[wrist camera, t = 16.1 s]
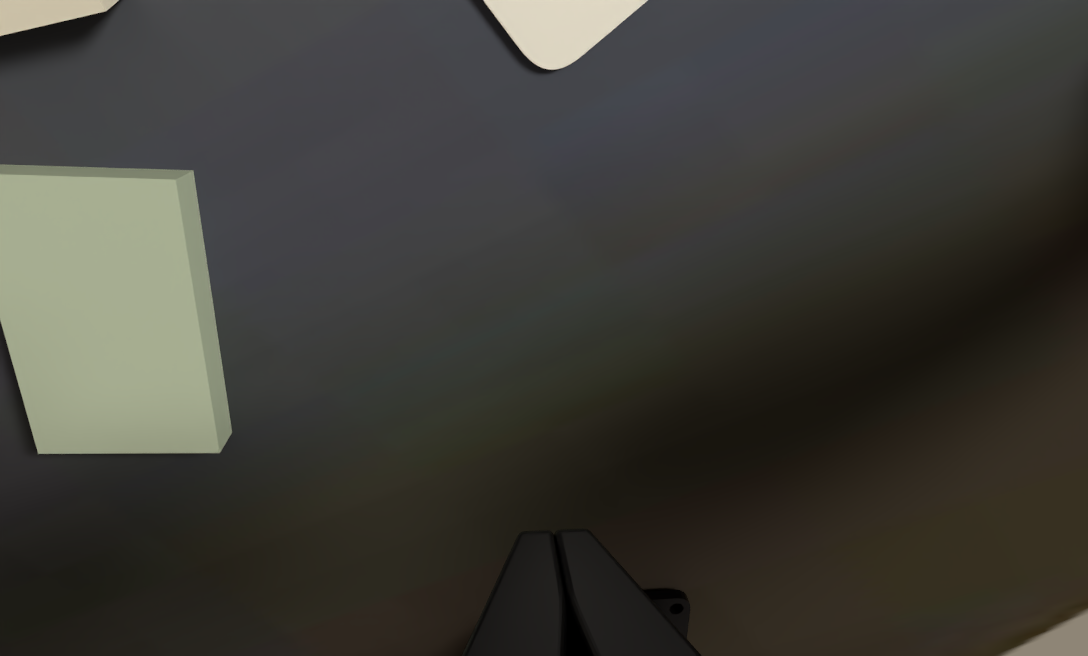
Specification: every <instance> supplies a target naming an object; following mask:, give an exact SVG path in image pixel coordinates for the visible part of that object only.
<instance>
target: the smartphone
mask: <svg viewBox="0 0 1088 656" xmlns="http://www.w3.org/2000/svg"><path fill="white" fill-rule="evenodd" d="M483 1H484V3H485V4H486V5H487V6H488V8H489V9H490V11H491V12H492V13H493V14H494V16H495V17H496V19H497V20H498V21H499V23H500V24H501V25H502V27H503V28H504V29H505V31H506V32H507V33H508V35H509V36H510V37H511V39H512V40H513V41H514V43H515V44H516V45H517V46H518V48H519V49H520V50H521V51H522V53H523V54H524V55H525V56H526V57H527V58H528V59H529V60H530V61H531V62H532V63H534V64H535V65H537V66H539V67H541V68H544V69H548V70H556V69H560V68H563V67H566V66H568V65H569V64H571V63H573V62H574V61H576V60H577V59H578V58H580V57H581V56H582V55H583V54H585V53H586V52H587V51H588V50H589V49H591V48H592V47H593V46H594V45H595V44H597V43H598V42H599V41H600V40H601V39H602V38H604V37H605V36H606V35H607V34H608V33H610V32H611V31H612V30H613V29H614V28H616V27H617V26H618V25H619V24H620V23H622V22H623V21H624V20H625V19H626V18H627V17H629V16H630V15H631V14H632V13H633V12H635V11H636V10H637V9H638V8H639V7H641V6H642V5H643V4H644V3H645V2H646V1H648V0H483Z"/></svg>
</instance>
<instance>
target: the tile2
mask: <svg viewBox="0 0 1088 656" xmlns="http://www.w3.org/2000/svg"><path fill="white" fill-rule="evenodd" d="M118 1H119V0H0V36H2V35H6V34H10V33H15V32H19V31H23V30H28V29H32V28H36V27H41V26H45V25H49V24H53V23H58V22H62V21H66V20H71V19H75V18H79V17H84V16H88V15H92V14H97V13H101V12H105V11H107V10H108V9H109V8H111V7H112V6H113V5H114V4H115V3H116V2H118Z"/></svg>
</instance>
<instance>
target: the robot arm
mask: <svg viewBox="0 0 1088 656" xmlns="http://www.w3.org/2000/svg"><path fill="white" fill-rule="evenodd" d="M677 603H678V604H677ZM673 604H677V605H675V606H672V605H673ZM689 614H690V604H689V601H688V598H687V596H686V594H685V593H684V592H682V591H680V590H665V591H648V592H644V591H643V590H642V589H641V587H640V586H639V585H638V584H637V583H636V582H635V581H634V580H633V579H632V577H631V576H630V575H629V574H628V573H627V572H626V571H625V570H624V568H623V567H622V566H621V565H620V564H619V563H618V562H617V561H616V560H615V558H614V557H613V556H612V555H611V554H610V553H609V552H608V551H607V549H606V548H605V547H604V546H603V545H602V544H601V543H600V542H599V541H598V539H597V538H596V537H595V536H594V535H593V534H592V533H591V532H590V531H589V530H587V529H563V530H558V531H556V532H555V534H554V535H553V533H552V532H551V531H549V530H543V531H524V532H521V533H520V534H519V535H518V536H517V538H516V540H515V543H514V545H513V547H512V549H511V551H510V553H509V555H508V558H507V560H506V562H505V564H504V566H503V568H502V571H501V573H500V575H499V577H498V579H497V581H496V583H495V586H494V588H493V590H492V592H491V594H490V596H489V598H488V601H487V603H486V605H485V607H484V609H483V611H482V614H481V616H480V618H479V620H478V622H477V624H476V626H475V629H474V631H473V633H472V635H471V637H470V639H469V641H468V644H467V646H466V648H465V650H464V652H463V654H462V656H701V655H700V654H699V652H698V651H697V650H696V649H695V648H694V647H693V646H692V645H691V643H690V642H689V641H688V640H687V631H688V622H689Z"/></svg>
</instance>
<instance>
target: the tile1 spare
mask: <svg viewBox="0 0 1088 656" xmlns="http://www.w3.org/2000/svg"><path fill="white" fill-rule="evenodd" d="M0 321H1V324H2V328H3V331H4V335H5V338H6V342H7V345H8V349H9V353H10V356H11V360H12V363H13V367H14V370H15V374H16V377H17V381H18V384H19V388H20V391H21V395H22V398H23V402H24V405H25V409H26V413H27V416H28V420H29V423H30V427H31V430H32V434H33V437H34V441H35V444H36V448H37V451H38V454H108V453H220V452H221V450H222V448H223V447H224V445H225V443H226V442H227V440H228V438H229V437H230V435H231V433H232V429H231V422H230V415H229V409H228V402H227V395H226V388H225V382H224V375H223V368H222V361H221V355H220V348H219V341H218V334H217V328H216V321H215V314H214V307H213V301H212V294H211V287H210V280H209V274H208V267H207V260H206V253H205V247H204V240H203V233H202V227H201V220H200V213H199V206H198V200H197V193H196V186H195V179H194V173H193V170H162V169H129V168H96V167H64V166H31V165H0Z"/></svg>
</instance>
